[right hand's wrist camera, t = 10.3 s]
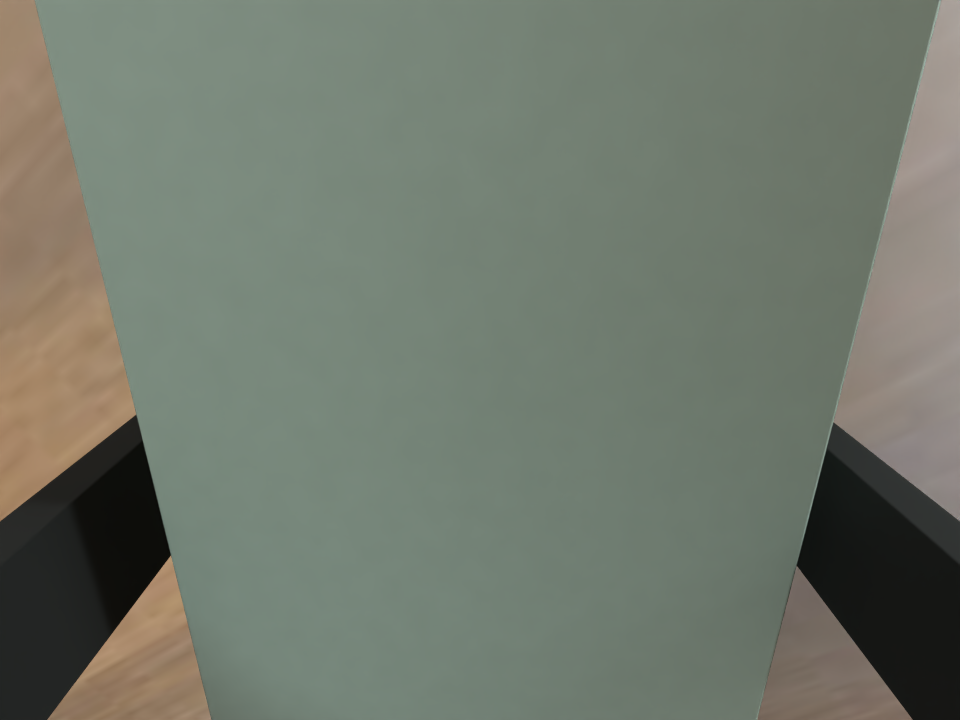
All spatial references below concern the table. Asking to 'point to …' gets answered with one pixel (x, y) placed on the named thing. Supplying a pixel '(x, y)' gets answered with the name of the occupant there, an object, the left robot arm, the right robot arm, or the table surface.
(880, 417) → the table surface
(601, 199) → the sage green box
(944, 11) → the table surface
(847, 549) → the right robot arm
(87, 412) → the table surface
